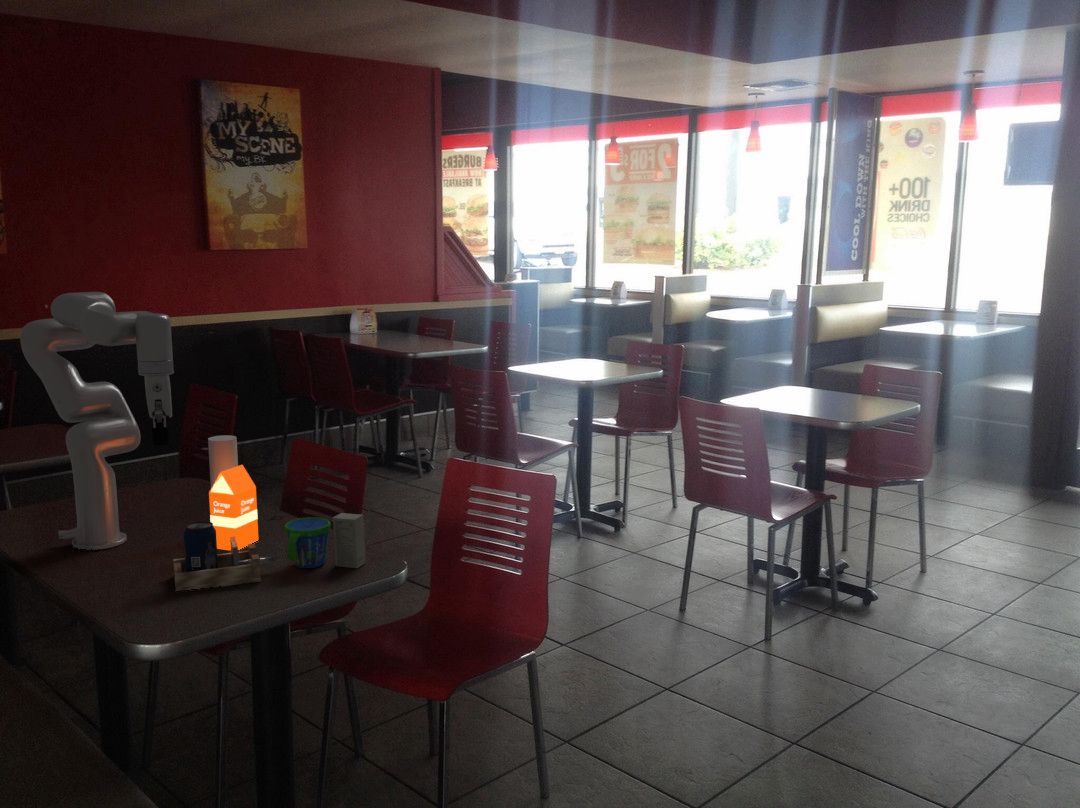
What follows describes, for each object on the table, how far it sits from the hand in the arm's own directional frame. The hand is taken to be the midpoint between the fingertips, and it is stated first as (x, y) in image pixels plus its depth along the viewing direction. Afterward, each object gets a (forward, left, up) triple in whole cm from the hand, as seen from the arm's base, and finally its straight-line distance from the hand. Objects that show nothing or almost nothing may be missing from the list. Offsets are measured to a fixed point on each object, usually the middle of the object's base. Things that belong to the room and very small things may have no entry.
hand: (160, 440), depth 216 cm
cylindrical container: (+15, +24, -31) cm, 42 cm away
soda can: (+7, -14, -30) cm, 33 cm away
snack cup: (+31, -12, -31) cm, 45 cm away
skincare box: (+40, -16, -31) cm, 53 cm away
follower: (+18, -14, -29) cm, 37 cm away
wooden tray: (+10, -14, -30) cm, 35 cm away
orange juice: (+16, +10, -31) cm, 36 cm away
